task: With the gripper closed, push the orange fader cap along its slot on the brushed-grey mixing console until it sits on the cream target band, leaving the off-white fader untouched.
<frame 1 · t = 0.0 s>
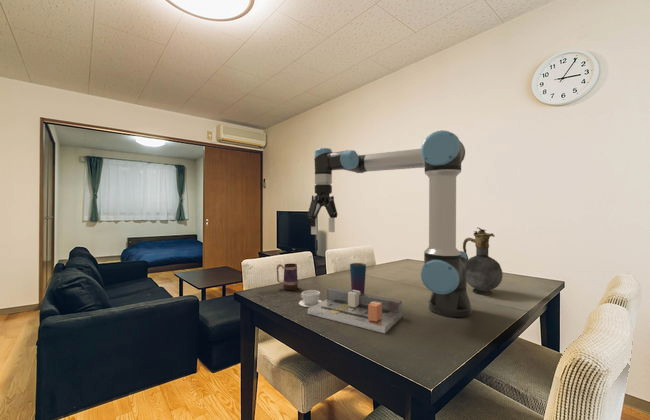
hand: (323, 233, 126), 28 cm above the table, fingers open, 13 cm apart
fader a: (375, 310, 96), point 5 cm above the table, slide at 0.0 cm
console: (354, 315, 105), on the table
fader b: (354, 298, 109), point 5 cm above the table, slide at 12.0 cm, touching console
cup: (357, 300, 123), on the table
pitcher: (479, 292, 134), on the table
mug: (287, 289, 140), on the table
teacup: (310, 304, 118), on the table
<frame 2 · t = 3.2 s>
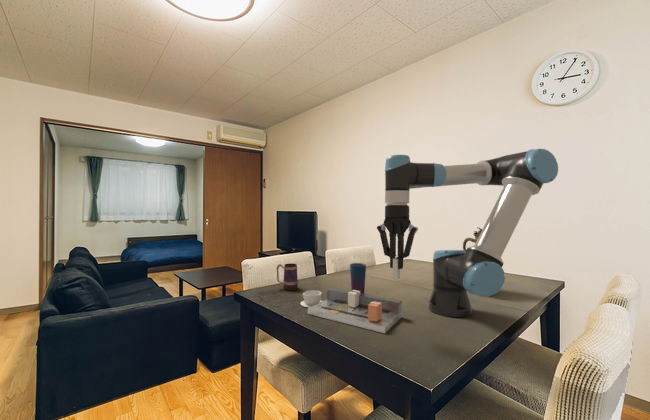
hand: (396, 278, 92), 17 cm above the table, fingers closed
nothing on the table moved.
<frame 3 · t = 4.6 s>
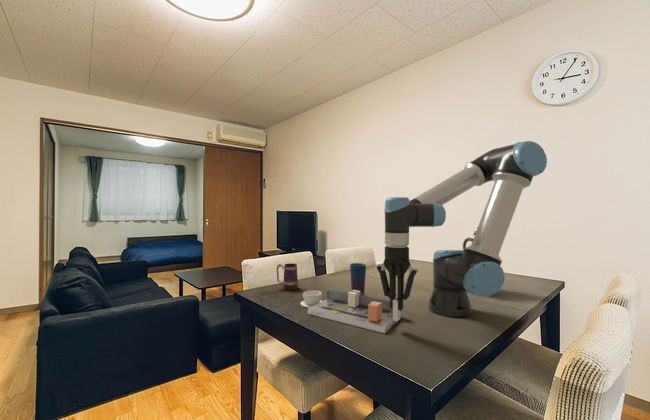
hand: (396, 319, 92), 4 cm above the table, fingers closed
nothing on the table moved.
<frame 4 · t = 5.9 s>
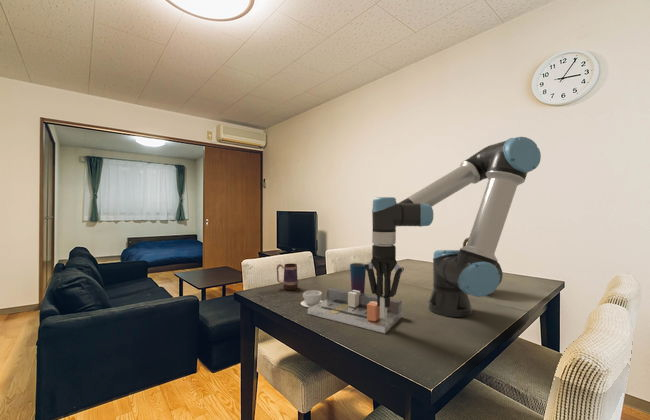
hand: (383, 316, 94), 4 cm above the table, fingers closed
fader a: (373, 310, 96), point 5 cm above the table, slide at 0.4 cm, touching gripper
everything else where it was.
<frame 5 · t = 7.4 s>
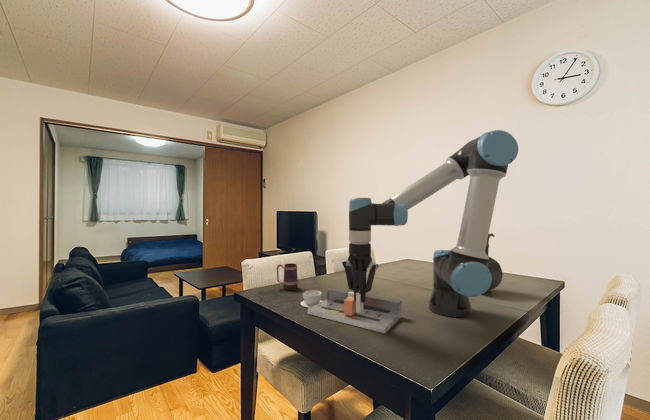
hand: (359, 311, 99), 4 cm above the table, fingers closed
fader a: (351, 305, 101), point 5 cm above the table, slide at 9.1 cm, touching gripper
everything else where it was.
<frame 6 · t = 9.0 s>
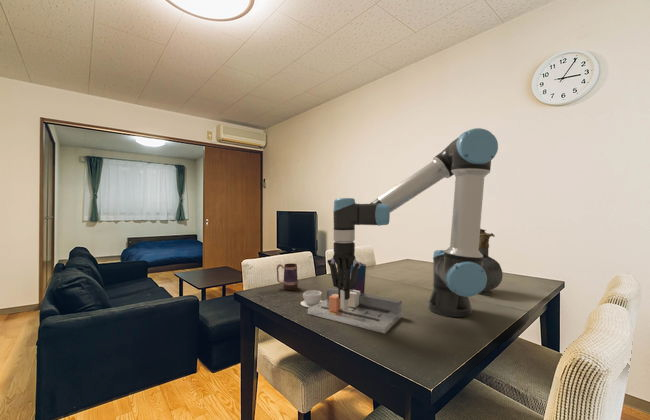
hand: (344, 307, 103), 4 cm above the table, fingers closed
fader a: (335, 302, 105), point 5 cm above the table, slide at 15.3 cm, touching gripper
everything else where it was.
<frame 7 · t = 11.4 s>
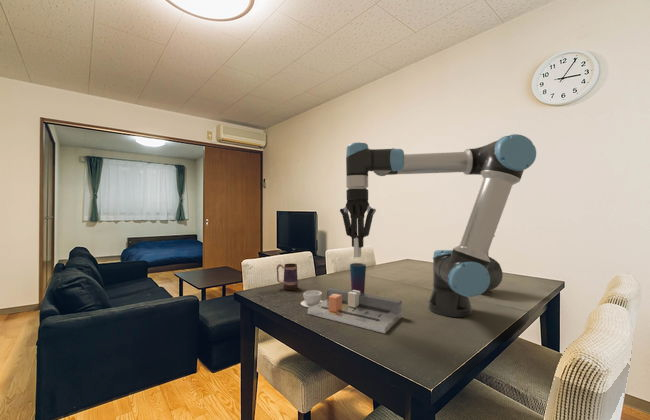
hand: (357, 256, 100), 22 cm above the table, fingers closed
fader a: (335, 302, 105), point 5 cm above the table, slide at 15.5 cm
everything else where it was.
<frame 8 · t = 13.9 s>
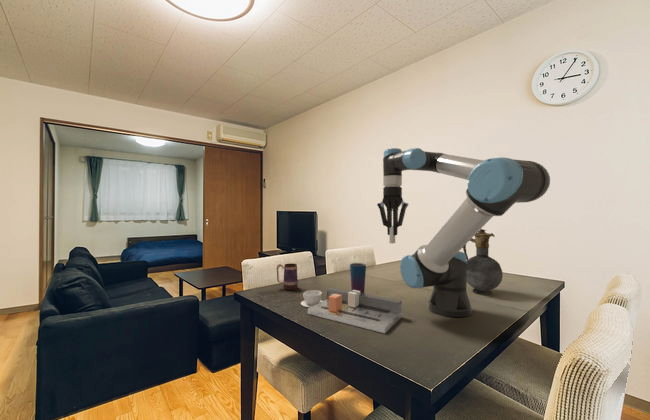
hand: (392, 243, 121), 24 cm above the table, fingers closed
nothing on the table moved.
at the end: fader a slide at 15.5 cm; fader b slide at 12.0 cm; fader a touching nothing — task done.
